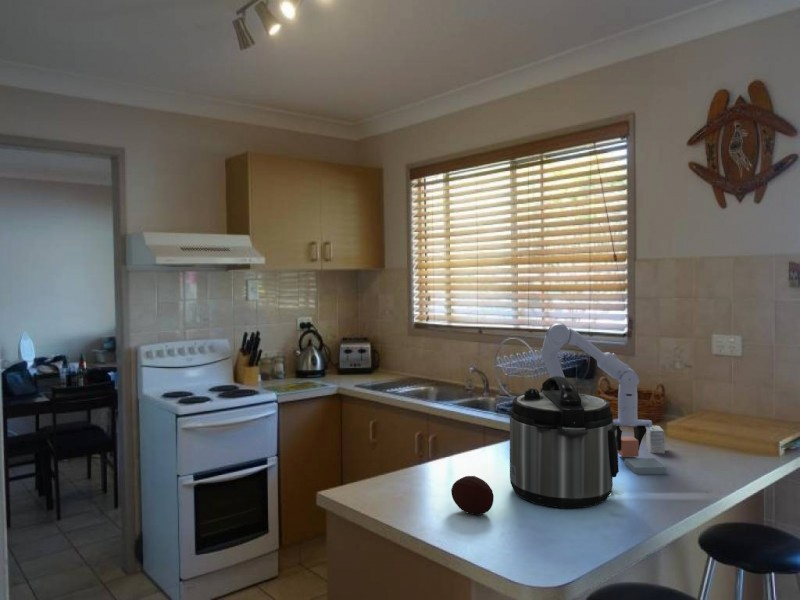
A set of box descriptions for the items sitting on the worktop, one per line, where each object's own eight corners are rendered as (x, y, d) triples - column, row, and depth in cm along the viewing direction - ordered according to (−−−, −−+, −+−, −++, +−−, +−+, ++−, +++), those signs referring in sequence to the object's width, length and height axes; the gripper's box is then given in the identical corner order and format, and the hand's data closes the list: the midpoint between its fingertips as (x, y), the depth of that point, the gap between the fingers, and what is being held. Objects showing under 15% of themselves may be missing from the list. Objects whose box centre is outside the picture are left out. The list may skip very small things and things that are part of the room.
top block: (634, 474, 183) (634, 467, 183) (624, 465, 192) (624, 458, 192) (666, 474, 183) (666, 467, 183) (654, 464, 192) (654, 458, 192)
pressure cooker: (596, 523, 151) (595, 390, 150) (489, 500, 167) (488, 381, 166) (631, 488, 175) (631, 374, 174) (536, 471, 192) (535, 367, 191)
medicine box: (664, 457, 204) (664, 431, 203) (650, 457, 205) (650, 430, 204) (659, 451, 211) (660, 425, 211) (645, 450, 212) (645, 424, 212)
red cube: (622, 456, 197) (622, 440, 196) (617, 452, 202) (617, 436, 201) (638, 456, 197) (638, 440, 196) (632, 452, 202) (632, 436, 201)
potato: (481, 524, 151) (480, 486, 150) (443, 512, 159) (442, 475, 159) (502, 514, 157) (502, 477, 157) (464, 502, 165) (464, 467, 165)
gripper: (608, 409, 195) (608, 453, 195) (655, 409, 194) (655, 453, 195) (601, 405, 202) (601, 447, 202) (647, 404, 201) (647, 447, 202)
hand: (627, 449), depth 199 cm, fingers closed on red cube, 5 cm apart
